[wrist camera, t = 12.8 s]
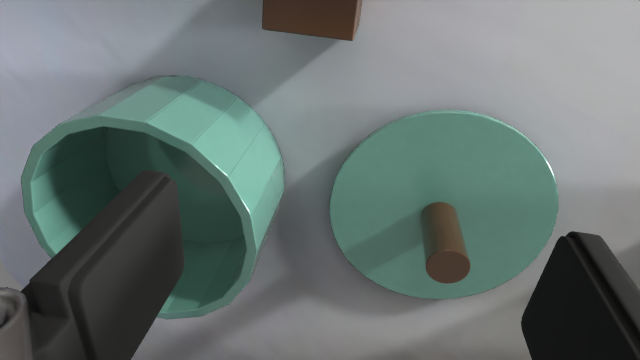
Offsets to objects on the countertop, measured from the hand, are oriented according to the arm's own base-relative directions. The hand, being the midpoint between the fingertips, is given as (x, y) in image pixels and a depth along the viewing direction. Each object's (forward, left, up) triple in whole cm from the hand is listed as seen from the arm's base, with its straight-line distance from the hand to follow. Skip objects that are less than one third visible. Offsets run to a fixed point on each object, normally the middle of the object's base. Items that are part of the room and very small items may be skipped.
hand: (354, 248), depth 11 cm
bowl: (+8, -11, -17) cm, 22 cm away
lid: (+8, +6, -16) cm, 19 cm away
